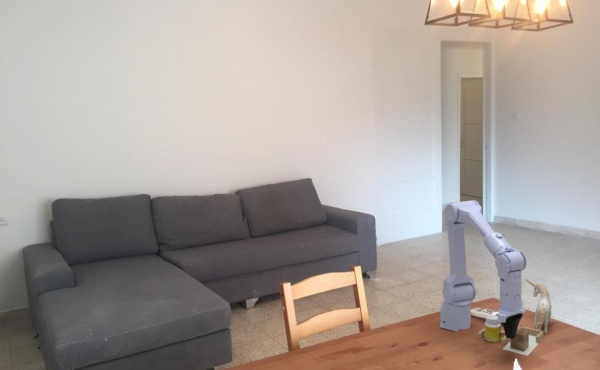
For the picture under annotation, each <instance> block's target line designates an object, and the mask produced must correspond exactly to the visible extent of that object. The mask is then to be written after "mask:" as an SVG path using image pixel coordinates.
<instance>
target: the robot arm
mask: <svg viewBox="0 0 600 370" xmlns="http://www.w3.org/2000/svg"><path fill="white" fill-rule="evenodd" d="M443 208H444V225H445V226H446V228H447V229H446V230H447V240H448V241H447V243H448V256H449V270H450V271H449V273H450V274H449V275H447V277H445V278H444V280H443V287H442V290H441V291H442V297H443V300H442V302H441V303H440V309H439V312H440V313H439V314H440V317H439V318H440V325H439V328H442V329H446V330H449V331H453V332H458V331H459V330H467V329H469V328H471V327H472V326H471V325H472V324H471V323H472V321H471V320H472V319H471V317H472V316H471V304H473V300H475V299H476V296H477V289H476V287H475V281H474V278H473V277H472V276H469V274H468V273H467V272H468V271H467V260H466V243H465V227H466V226H467V225H468V224H470V225H471V226H472V227H473V228H474V229H475V231H476V232H477V233H478V234H479V235H480V236H481V237H482V238H483V245H484V247H486V250H488V252H489V253H490V254H491V256H493V258H494V259H495V260H494V263H495V264H494V265H495V267H496V269H497V275H498V278H499V305H498V313H497V316H498V321H499V323H500V324H501V325H502V328H503V331H504V332H505V335H506V338H509V339H514V338H515V336H516V332H517V328H518V327H519V324H520V322H521V319H522V318H523V316H524V315H523V314H525V313H526V311H527V310H526V308H523V306H524V304H523V302H524V301H523V300H522V271H524V270H525V269H526V267H527V258H526V256H525V254H524V252H522V251H521V250H519V249H517V248H514V247H512V245H510V243H509V242H508V241H507V240H506V238H505V237H504V236H503V235H502V233H500V232H495V231H494V230H493V228H492V227H491V225H490V224H489V223H488V221H487V219H486V218H485V217H484V215H483V214H482V213H483V208H482V206H481V205H480V203H479V202H478V201H477V200H475V199H471V200H465V201H456V202H448V203H447V204H446V205H445V207H443Z"/></svg>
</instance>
